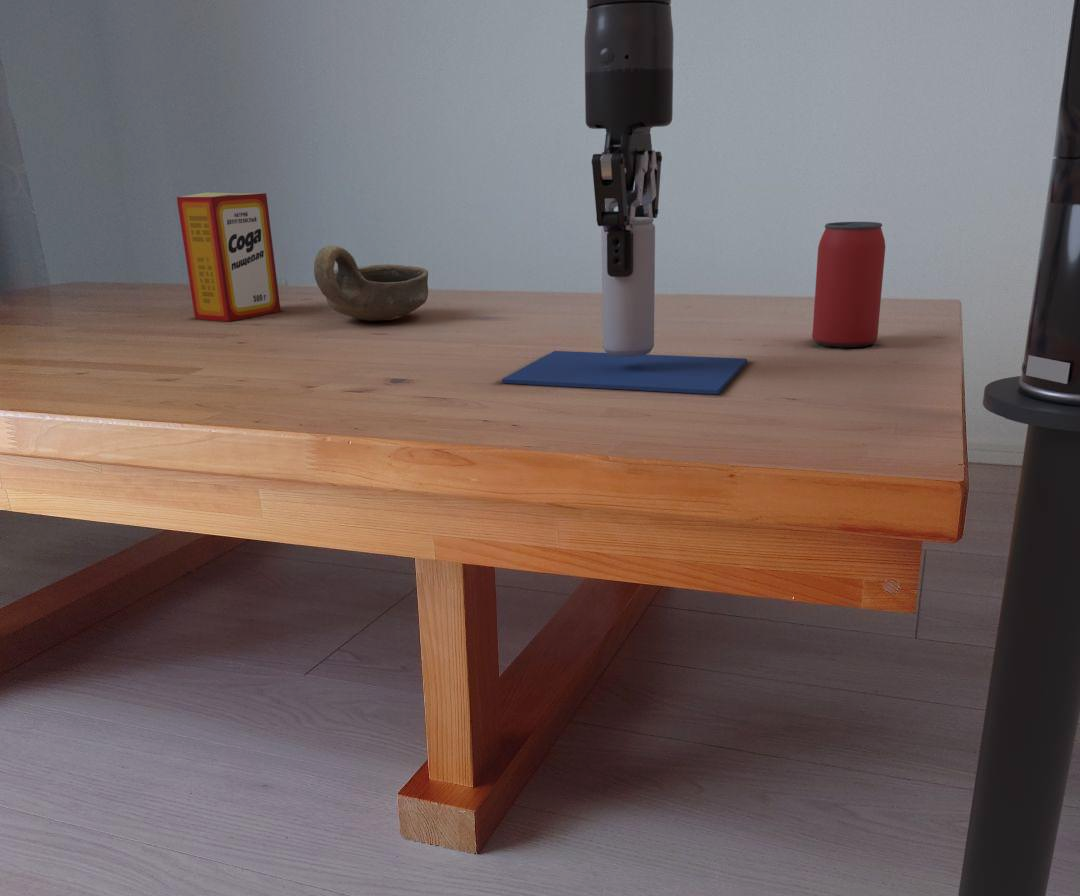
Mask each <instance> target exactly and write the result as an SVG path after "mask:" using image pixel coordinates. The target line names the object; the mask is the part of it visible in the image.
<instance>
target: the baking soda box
mask: <svg viewBox="0 0 1080 896" xmlns="http://www.w3.org/2000/svg"><path fill="white" fill-rule="evenodd" d="M176 203H177V209H178V215H179V223H180V228H181V235H182V240H183V241H182V242H183V249H184V255H185V260H186V267H187V275H188V280H189V288H190V294H191V301H192V308H193V313H194V314H193V315H194V319H195V320H206V321H217V322H233V321H239V320H244V319H249V318H253V317H259V316H263V315H268V314H273V313H279V312H281V303H280V302H281V301H280V294H279V287H278V278H277V277H278V276H277V271H276V262H275V254H274V245H273V237H272V230H271V220H270V211H269V204H268V196H267V193H266V192H259V193H258V192H256V193H255V192H253V193H251V192H247V193H244V192H243V193H242V192H241V193H239V192H238V193H236V192H235V193H234V192H201V193H194V194H189V195H182V196H177V197H176Z"/></svg>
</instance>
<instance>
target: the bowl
mask: <svg viewBox="0 0 1080 896" xmlns="http://www.w3.org/2000/svg"><path fill="white" fill-rule="evenodd" d="M315 256H316V257H315V259H314V263H313V274H314V279H315V282H316V285H317V287H318V289H319V290H320V292H321V294H322V295H323V296H324V297H325V298H326V302H327V303H328V306H329V307H330V308H331V309H332V310H334V311H335V312H336V313H339V314H342V315H344V316H347V317H351V318H354V319H357V320H360V321H367V322H385V321H393V320H396V319H399V318H402V317H404V316H406V315H409V314H410V313H412V312H414V311H416V310H417V309H418V308H420V307H422V306H423V305H424V304H425V303H427V300H428V297H429V284H428V282H429V281H428V280H429V271H428V270H427V269H426V268H423V267H419V266H414V265H403V264H373V265H368V266H358V264H357V262H356V260H355V258H354V256H353V255H352V254H351V253H350V252H349V251H348V250H347V249H345V248H343V247H340V246H337V245H324V247H322V248H320V249H319V250H318V252H317V253H316V255H315ZM335 265H337V269H334V268H335Z"/></svg>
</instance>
